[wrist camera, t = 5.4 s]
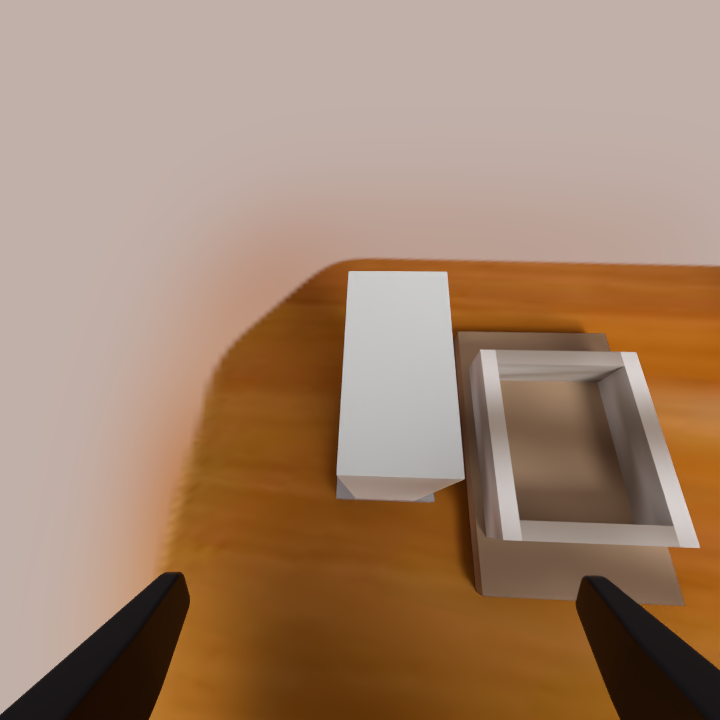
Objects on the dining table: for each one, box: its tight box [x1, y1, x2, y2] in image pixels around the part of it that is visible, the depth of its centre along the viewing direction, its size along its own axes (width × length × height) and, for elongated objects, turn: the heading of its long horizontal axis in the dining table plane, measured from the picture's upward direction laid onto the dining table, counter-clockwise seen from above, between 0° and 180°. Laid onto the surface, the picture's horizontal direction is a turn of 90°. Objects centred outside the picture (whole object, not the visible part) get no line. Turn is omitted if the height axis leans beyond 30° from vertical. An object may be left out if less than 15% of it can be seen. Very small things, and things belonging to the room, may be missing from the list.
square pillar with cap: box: [336, 271, 465, 503], centre depth 15 cm, size 7×5×12 cm
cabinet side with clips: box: [454, 331, 700, 606], centre depth 18 cm, size 14×9×4 cm, turn 178°
